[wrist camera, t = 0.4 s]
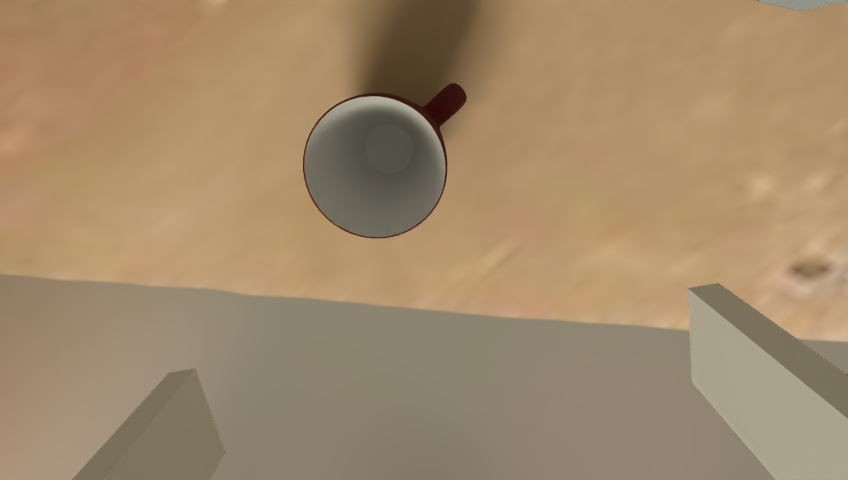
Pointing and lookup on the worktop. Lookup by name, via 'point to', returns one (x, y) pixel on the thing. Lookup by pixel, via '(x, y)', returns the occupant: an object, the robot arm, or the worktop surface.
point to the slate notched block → (801, 3)
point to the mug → (379, 161)
